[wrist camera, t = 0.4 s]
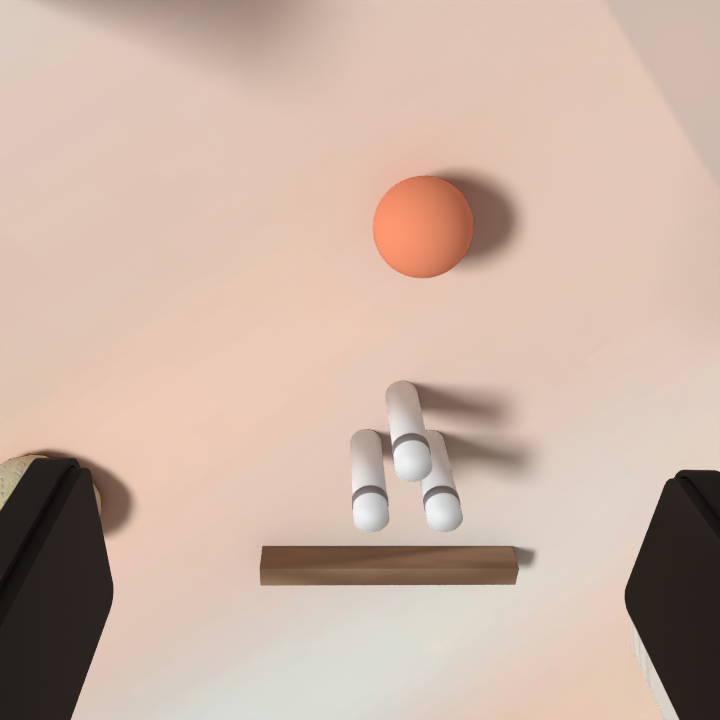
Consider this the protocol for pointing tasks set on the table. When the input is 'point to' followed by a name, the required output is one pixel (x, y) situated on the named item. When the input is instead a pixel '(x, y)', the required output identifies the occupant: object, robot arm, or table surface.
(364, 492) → the pin
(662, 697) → the supplement box
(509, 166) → the table surface
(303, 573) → the back wall
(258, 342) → the table surface
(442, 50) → the table surface
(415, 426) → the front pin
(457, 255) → the ball
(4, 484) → the sea urchin shell
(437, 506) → the pin
